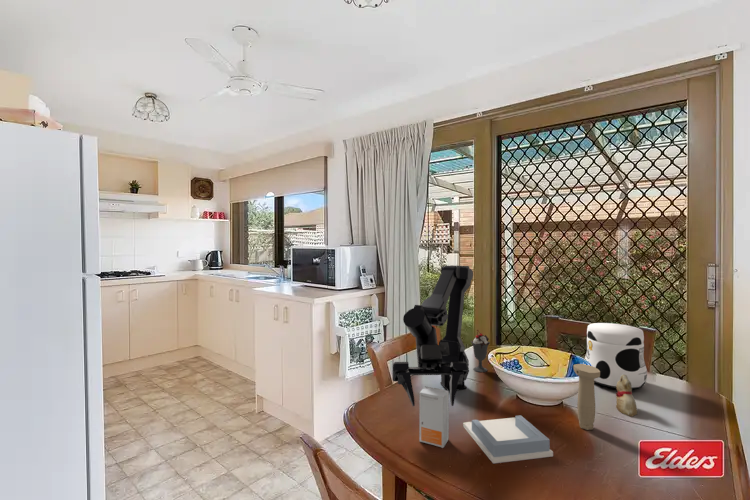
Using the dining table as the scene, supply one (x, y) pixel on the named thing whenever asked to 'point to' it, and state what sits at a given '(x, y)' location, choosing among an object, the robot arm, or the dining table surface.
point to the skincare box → (434, 416)
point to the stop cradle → (509, 439)
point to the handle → (586, 394)
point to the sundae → (480, 350)
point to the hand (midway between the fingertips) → (433, 405)
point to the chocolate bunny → (625, 397)
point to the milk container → (616, 353)
